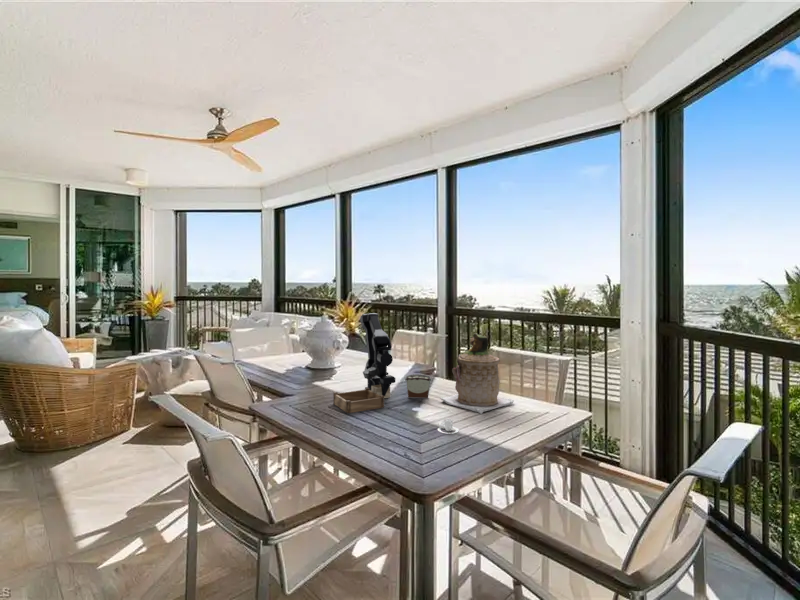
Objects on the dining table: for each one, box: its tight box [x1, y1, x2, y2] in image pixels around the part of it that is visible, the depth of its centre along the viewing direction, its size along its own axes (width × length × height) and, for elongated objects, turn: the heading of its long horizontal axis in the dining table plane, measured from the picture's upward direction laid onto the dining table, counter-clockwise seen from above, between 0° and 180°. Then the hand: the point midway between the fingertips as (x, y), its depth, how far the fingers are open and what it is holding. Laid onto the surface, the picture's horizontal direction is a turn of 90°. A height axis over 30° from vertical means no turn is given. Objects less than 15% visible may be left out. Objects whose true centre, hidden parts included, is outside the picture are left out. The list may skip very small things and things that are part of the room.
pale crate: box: [371, 385, 391, 399], centre depth 209 cm, size 6×7×5 cm
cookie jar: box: [439, 333, 515, 415], centre depth 199 cm, size 25×25×32 cm
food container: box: [404, 373, 432, 399], centre depth 210 cm, size 12×6×10 cm, turn 84°
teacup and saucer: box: [437, 418, 460, 435], centre depth 165 cm, size 9×8×4 cm
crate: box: [333, 387, 385, 414], centre depth 195 cm, size 16×17×5 cm
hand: (380, 394), depth 209 cm, fingers closed on pale crate, 6 cm apart
